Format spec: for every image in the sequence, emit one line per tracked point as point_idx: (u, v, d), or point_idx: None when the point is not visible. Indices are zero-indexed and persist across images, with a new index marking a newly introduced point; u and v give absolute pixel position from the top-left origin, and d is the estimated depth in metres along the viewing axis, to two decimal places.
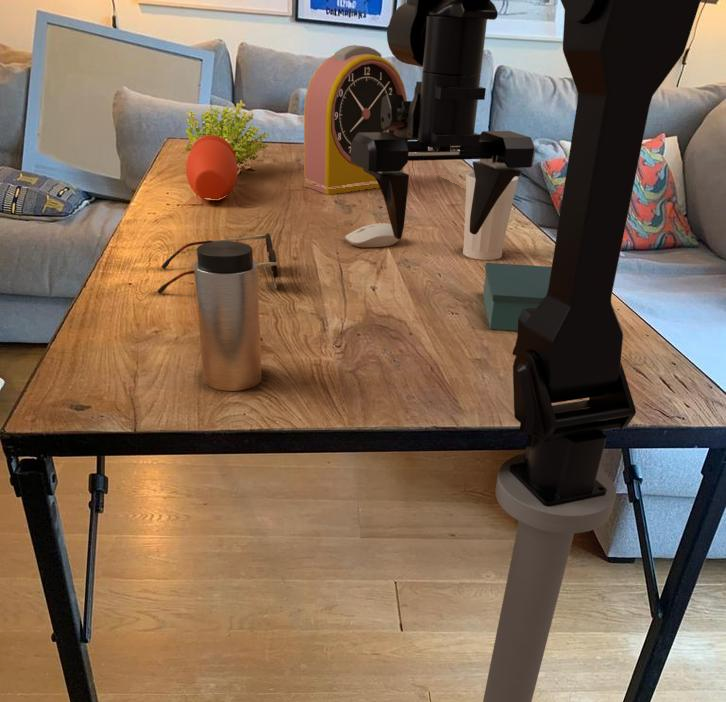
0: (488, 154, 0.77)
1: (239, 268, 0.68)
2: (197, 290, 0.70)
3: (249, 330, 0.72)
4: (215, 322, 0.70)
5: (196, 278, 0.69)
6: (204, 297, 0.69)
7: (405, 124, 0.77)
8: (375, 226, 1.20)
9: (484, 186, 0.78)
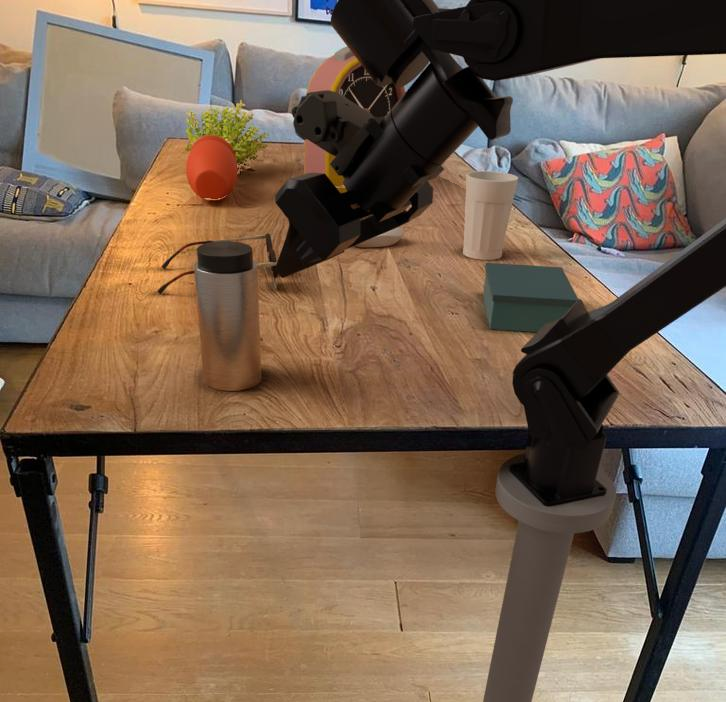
0: None
1: (239, 268, 0.68)
2: (197, 290, 0.70)
3: (249, 330, 0.72)
4: (215, 322, 0.70)
5: (196, 278, 0.69)
6: (204, 297, 0.69)
7: (327, 141, 0.58)
8: None
9: (369, 219, 0.68)
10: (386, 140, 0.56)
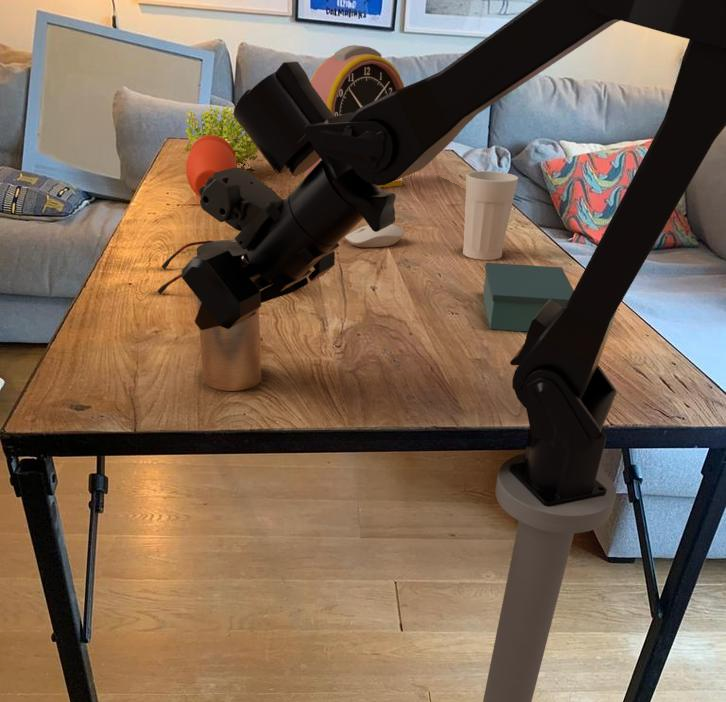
0: None
1: None
2: None
3: (249, 330, 0.72)
4: None
5: None
6: None
7: None
8: None
9: None
10: (284, 223, 0.62)
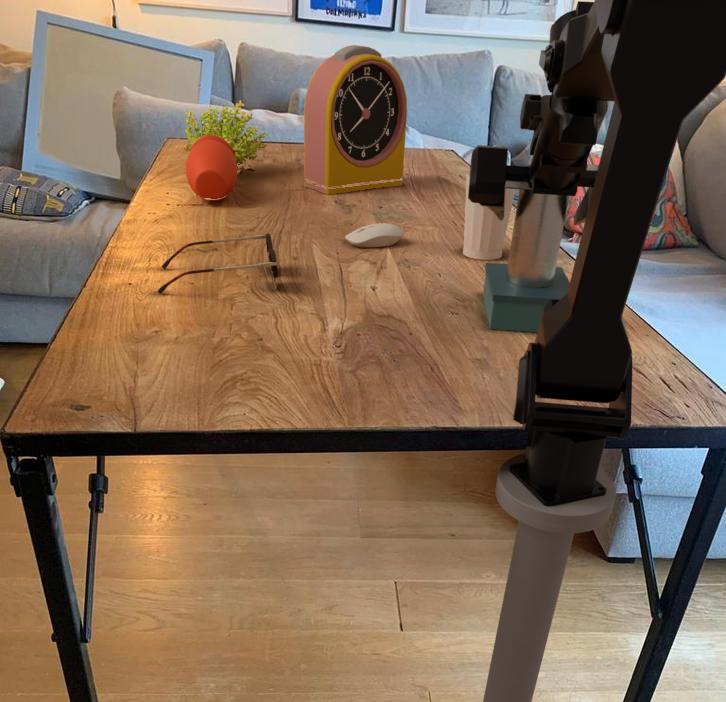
0: None
1: None
2: None
3: (533, 237, 0.88)
4: (515, 221, 0.90)
5: None
6: (517, 201, 0.89)
7: None
8: (375, 226, 1.20)
9: (588, 203, 0.86)
10: None
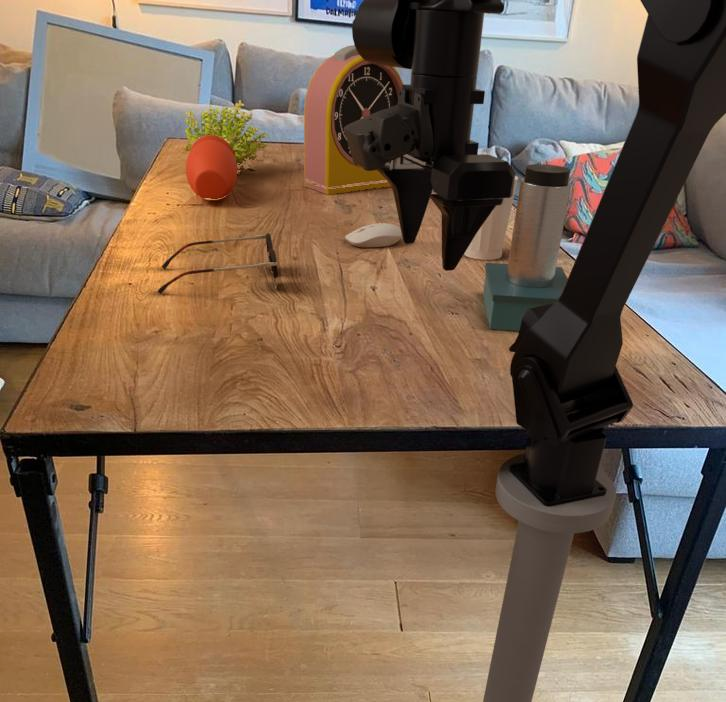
0: None
1: (538, 182, 0.85)
2: None
3: (533, 237, 0.88)
4: (515, 221, 0.90)
5: None
6: (517, 201, 0.89)
7: None
8: (375, 226, 1.20)
9: (417, 190, 0.73)
10: (446, 93, 0.61)
